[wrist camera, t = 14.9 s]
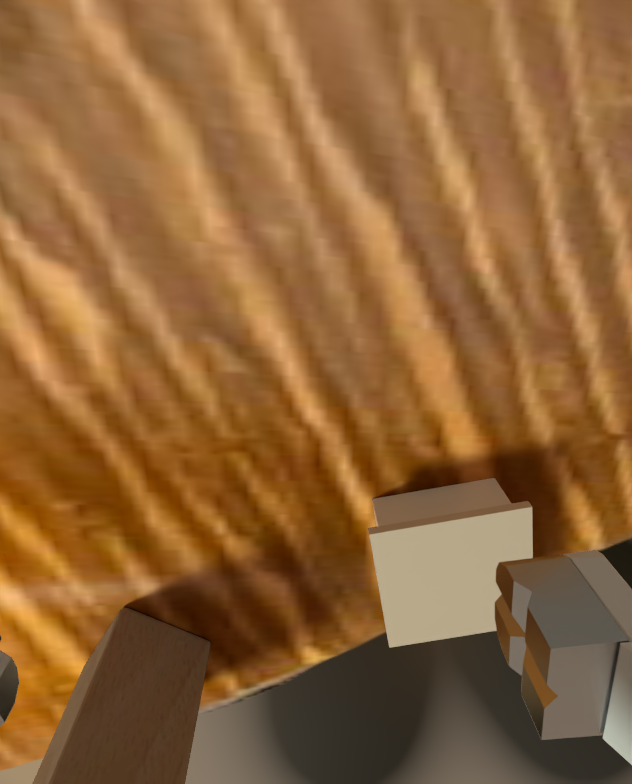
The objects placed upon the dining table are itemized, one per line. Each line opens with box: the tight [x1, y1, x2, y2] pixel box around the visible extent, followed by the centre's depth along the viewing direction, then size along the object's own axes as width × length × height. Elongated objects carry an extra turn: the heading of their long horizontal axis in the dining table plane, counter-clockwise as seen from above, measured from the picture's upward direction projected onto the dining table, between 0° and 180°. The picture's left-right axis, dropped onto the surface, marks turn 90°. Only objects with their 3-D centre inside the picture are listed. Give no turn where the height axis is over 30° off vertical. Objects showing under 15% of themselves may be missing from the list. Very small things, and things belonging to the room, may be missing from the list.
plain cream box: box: [368, 478, 533, 647], centre depth 44 cm, size 13×13×6 cm
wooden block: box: [33, 608, 211, 784], centre depth 42 cm, size 10×10×20 cm
